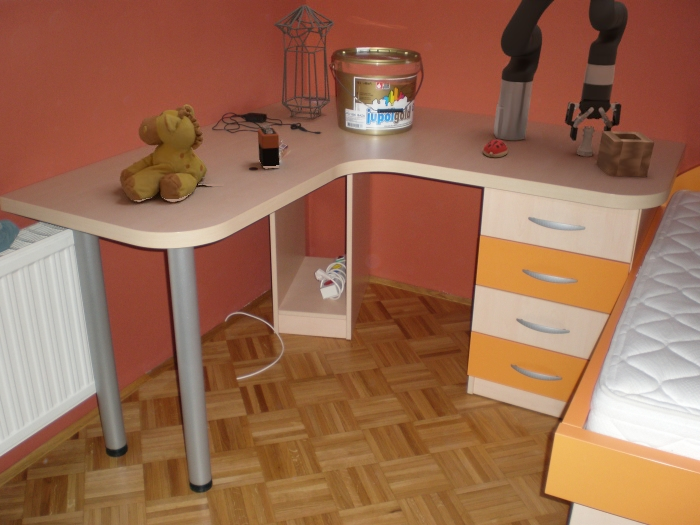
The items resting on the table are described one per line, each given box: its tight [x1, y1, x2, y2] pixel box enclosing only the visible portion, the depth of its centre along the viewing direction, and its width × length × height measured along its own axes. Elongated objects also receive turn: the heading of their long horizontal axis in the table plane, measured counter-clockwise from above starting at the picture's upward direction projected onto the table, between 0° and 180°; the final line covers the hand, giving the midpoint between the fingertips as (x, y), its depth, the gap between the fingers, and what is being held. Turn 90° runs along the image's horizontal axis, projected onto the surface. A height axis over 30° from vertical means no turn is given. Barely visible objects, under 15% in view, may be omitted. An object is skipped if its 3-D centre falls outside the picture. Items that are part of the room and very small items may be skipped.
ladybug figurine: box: [482, 139, 509, 159], centre depth 185 cm, size 7×10×4 cm
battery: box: [257, 124, 280, 166], centre depth 171 cm, size 4×7×10 cm, turn 17°
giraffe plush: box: [119, 103, 208, 201], centre depth 152 cm, size 20×24×19 cm
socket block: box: [595, 130, 655, 177], centre depth 173 cm, size 10×10×9 cm
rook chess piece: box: [576, 125, 596, 158], centre depth 185 cm, size 4×4×8 cm
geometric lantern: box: [273, 4, 335, 120], centre depth 213 cm, size 16×16×35 cm
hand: (588, 140), depth 184 cm, fingers open, 8 cm apart
